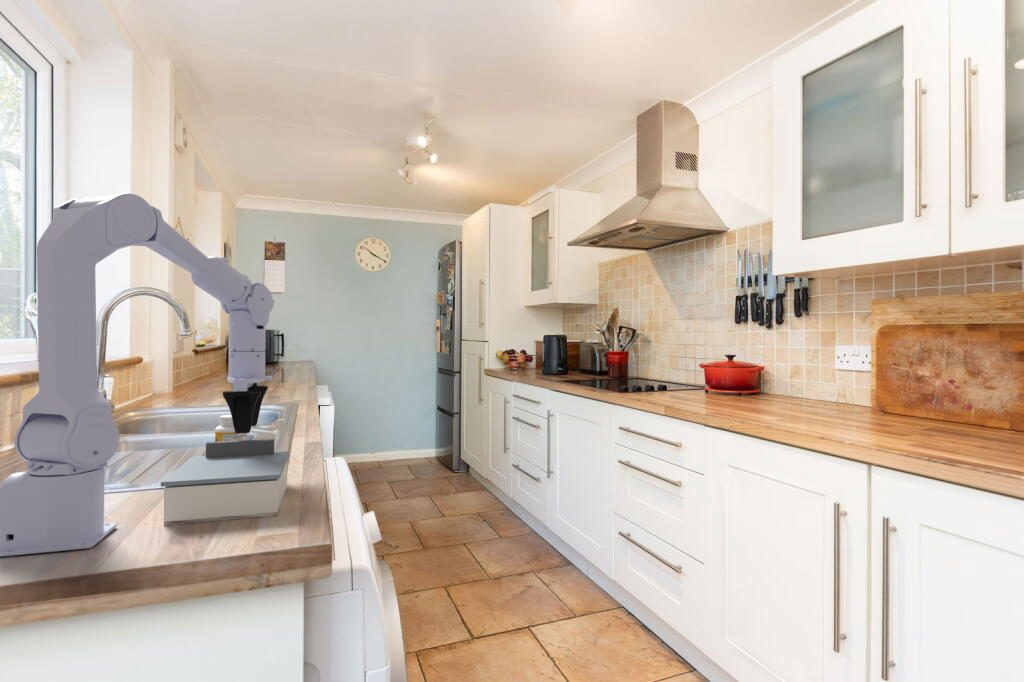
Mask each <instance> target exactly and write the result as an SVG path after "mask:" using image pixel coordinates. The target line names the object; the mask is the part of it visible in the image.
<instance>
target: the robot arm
mask: <svg viewBox="0 0 1024 682" xmlns="http://www.w3.org/2000/svg"><path fill="white" fill-rule="evenodd" d="M52 213H53V214H52V215H53V217H52V218H53V219H52V220H51V222H50V223H49V224H48V226H47V228H46V229H45V231H44V232H43V234H42V235H41V237H40V238H39V240H38V242H37V246H36V271H37V272H36V281H37V284H36V285H37V336H38V337H37V339H38V340H37V341H38V351H37V352H38V392H37V393H36V394H35V395H34V396H32V398H31V399H30V400H29V401H28V402H26V403H25V404H24V406H23V408H22V419H21V423H20V425H19V427H18V428H17V430H16V432H15V434H14V437H13V438H14V439H13V445H14V449H15V452H16V453H17V455H18V456H19V457H20V458H22V459H23V460H24V461H26V470H27V471H17V472H13V473H11V474H9V475H8V476H7V477H6V478H5V479H4V480H3V481H2V483H1V486H0V557H9V556H10V557H11V556H20V555H31V554H41V553H52V552H61V551H72V550H74V551H75V550H81V549H82V550H83V549H91V548H93V547H94V546H95V545H97V544H98V543H99V542H100V541H101V540H103V539H104V538H105V537H106V536H107V535H108V534H110V533H111V532H112V531H113V530H114V529H116V528H117V526H118V524H117V523H116V522H112V523H105V468H107V467H108V461H109V460H110V459H111V458H112V457H113V456H114V455H115V453H116V451H117V449H118V447H119V445H120V431H119V429H118V427H117V425H116V423H115V421H114V419H113V415H112V404H111V403H110V402H109V401H108V400H107V399H106V398H105V395H103V394H102V393H101V392H100V391H99V389H98V369H97V368H98V366H97V365H98V362H97V361H98V360H97V359H98V357H97V356H98V355H97V354H98V353H97V298H96V297H97V296H96V295H97V292H96V291H97V289H96V288H97V287H96V266H97V264H98V263H100V262H101V261H103V260H104V259H106V258H108V257H109V256H110V255H112V254H113V253H115V252H117V250H120V249H123V248H128V247H132V246H133V247H136V246H137V247H145V248H148V249H150V250H152V251H153V252H155V253H157V254H159V256H162V257H163V258H164V259H166V260H168V261H170V262H172V263H173V264H175V265H177V266H178V267H180V268H182V269H184V270H185V271H186V272H188V273H190V275H191V276H190V277H191V281H192V283H193V285H194V286H196V287H197V288H200V289H201V290H202V291H204V292H206V293H207V294H209V295H210V296H211V297H213V298H215V299H216V300H217V301H219V303H220V305H221V308H222V310H223V312H224V313H226V314H228V315H229V316H228V376H227V377H226V382H227V383H230V384H232V390H224V391H222V397H223V399H224V400H225V402H226V404H227V406H228V408H229V411H230V415H231V416H232V421H233V426H234V430H235V433H236V434H239V433H247V434H250V432H251V429H252V427H256V426H257V424H258V422H259V417H260V413H261V412H260V410H261V407H262V403H263V400H264V397H265V395H266V393H267V391H268V390H269V386H268V385H259V384H260V383H262V382H266V381H267V382H268V381H269V382H270V381H272V380H273V375H266V332H267V331H266V329H267V328H266V327H267V326H268V323H269V318H270V314H271V312H272V310H273V309H274V304H275V300H274V298H273V295H272V292H271V290H270V289H269V288H268V287H267V286H265V285H264V283H261V282H253V281H252V280H251V279H249V276H248V275H246V274H245V273H241V272H240V271H238V270H237V269H236V268H235V267H233V266H232V265H231V264H230V263H229V262H230V261H229V259H227V258H226V257H225V256H218V255H209V256H207V255H205V253H203V252H202V251H201V250H199V249H198V248H197V247H196V246H195V245H193V244H192V243H191V242H190V241H189V240H188V239H186V238H185V236H183V235H182V234H181V233H179V232H178V231H177V230H176V229H174V227H172V226H171V225H170V224H169V223H168V222H166V221H165V220H164V218H163V215H162V212H161V210H160V209H159V208H156V207H155V206H153V205H151V204H150V203H149V202H148V201H147V200H146V199H144V198H143V197H142V196H140V195H137V194H135V193H129V192H123V193H120V194H116V195H115V194H114V195H106V196H105V195H104V196H96V197H75V198H72V199H70V200H67V201H66V202H64V203H63V202H62V203H61V204H59V205H56V206H55V207H54V208H53V210H52Z"/></svg>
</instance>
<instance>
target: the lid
mask: <svg viewBox="0 0 1024 682" xmlns="http://www.w3.org/2000/svg"><path fill="white" fill-rule="evenodd" d="M275 440H276V439H275V438H271V439H270V438H269V439H266V438H265V439H247V440H241V441H219V442H215V441H207V442H205V455H194V456H192V457H190V458H189V459H188V460H186V461H185V462H184V463H183V464H182V465H180V466H179V467H178V468H177V469H175V470H174V471H173V472H172V473H170V474H169V475H168V476H167V477H165V478H164V479H163V480H161V482H160V488H161V487H162V488H163V487H164V488H165V487H166V486H179V485H194V484H209V483H224V482H239V481H254V480H269V479H280V477H281V474H282V472H283V469H284V467H285V465H286V462H287V463H288V460H289V457H290V451H289V450H288V451H275Z"/></svg>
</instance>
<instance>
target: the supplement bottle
mask: <svg viewBox="0 0 1024 682" xmlns="http://www.w3.org/2000/svg"><path fill="white" fill-rule="evenodd" d="M214 439H215V440H214V442H219V441H241V440H248V433H239V434H236V433H235V430H234V426H233V421H232V416H231V414H225V415H220V416H219V425H218V426H216V427H215V429H214Z"/></svg>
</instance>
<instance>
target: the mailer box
mask: <svg viewBox="0 0 1024 682" xmlns="http://www.w3.org/2000/svg"><path fill="white" fill-rule="evenodd" d="M287 488H288V461H287V462H286V465H285V467H284V469H283V472H282V474H281V477H280V479H269V480H254V481H239V482H224V483H209V484H194V485H179V486H164V488H163V526H170V525H171V526H173V525H174V526H175V525H185V524H195V523H209V522H217V521H218V522H220V521H229V520H230V521H231V520H241V519H253V518H264V517H277V516H278V514H279V511H280V508H281V505H282V502H283V499H284V497H285V494H286V490H287Z"/></svg>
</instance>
